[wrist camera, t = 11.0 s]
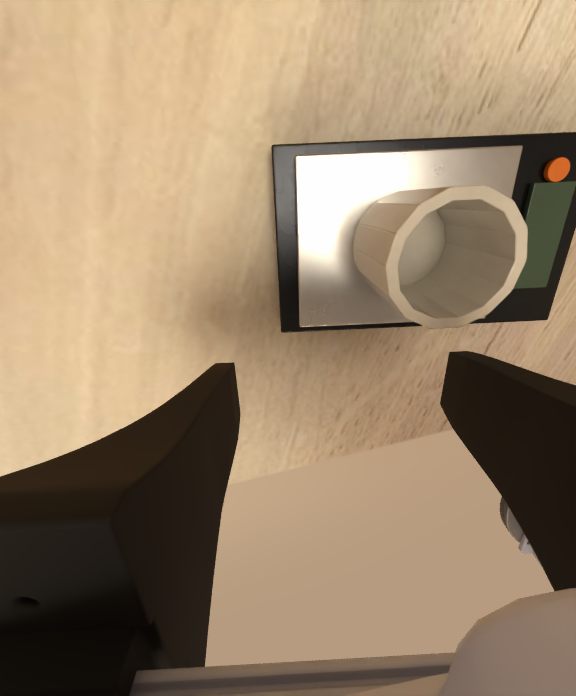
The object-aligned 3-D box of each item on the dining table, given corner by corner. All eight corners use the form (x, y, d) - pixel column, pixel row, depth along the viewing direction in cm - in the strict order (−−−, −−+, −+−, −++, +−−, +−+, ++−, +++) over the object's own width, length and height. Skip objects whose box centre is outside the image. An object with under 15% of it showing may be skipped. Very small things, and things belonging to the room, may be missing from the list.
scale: (523, 309, 20) (556, 324, 18) (280, 321, 20) (281, 337, 18) (569, 138, 16) (619, 127, 14) (272, 150, 16) (271, 142, 14)
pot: (440, 288, 17) (510, 325, 12) (349, 292, 17) (380, 331, 12) (456, 188, 15) (547, 181, 10) (353, 193, 15) (392, 189, 10)
